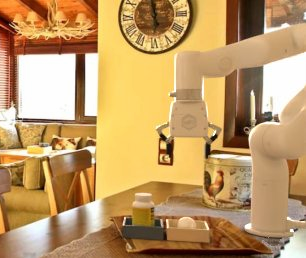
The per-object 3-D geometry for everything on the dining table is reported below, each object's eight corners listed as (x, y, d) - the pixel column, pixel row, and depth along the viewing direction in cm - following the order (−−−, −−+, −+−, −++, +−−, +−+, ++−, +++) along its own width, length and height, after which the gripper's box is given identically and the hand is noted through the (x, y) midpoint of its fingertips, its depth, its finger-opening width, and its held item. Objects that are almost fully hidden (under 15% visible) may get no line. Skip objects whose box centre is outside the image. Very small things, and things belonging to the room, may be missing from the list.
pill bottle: (155, 235, 144) (155, 196, 143) (132, 234, 145) (132, 196, 144) (153, 229, 150) (154, 192, 149) (132, 229, 151) (132, 191, 150)
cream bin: (205, 232, 148) (206, 220, 148) (209, 242, 138) (209, 229, 138) (166, 230, 151) (166, 219, 150) (167, 240, 141) (167, 227, 141)
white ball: (174, 235, 144) (175, 217, 144) (180, 231, 148) (181, 214, 148) (192, 238, 141) (192, 220, 141) (198, 234, 145) (198, 216, 145)
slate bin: (162, 230, 151) (162, 218, 151) (163, 240, 141) (163, 227, 141) (124, 228, 154) (124, 216, 154) (122, 237, 144) (122, 225, 144)
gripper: (156, 96, 140) (155, 158, 142) (224, 96, 136) (222, 160, 137) (156, 96, 148) (155, 155, 149) (220, 95, 143) (219, 156, 144)
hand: (187, 157), depth 143 cm, fingers open, 9 cm apart
